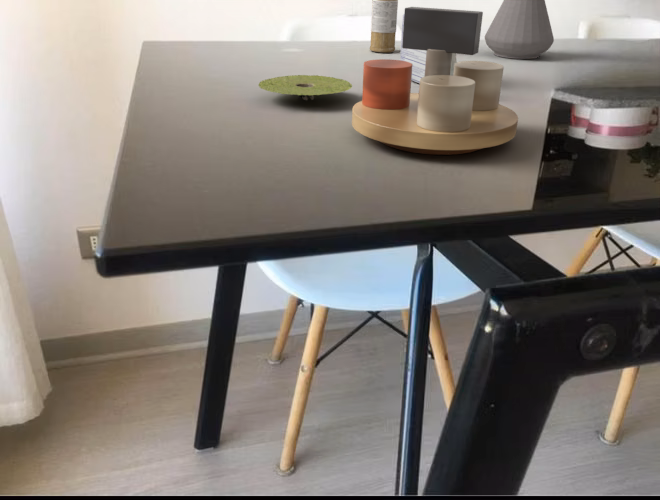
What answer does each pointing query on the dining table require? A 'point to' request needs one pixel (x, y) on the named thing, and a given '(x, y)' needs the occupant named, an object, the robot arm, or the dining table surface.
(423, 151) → the holder base
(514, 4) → the grey faceted vase
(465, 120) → the wooden lazy susan
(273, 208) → the dining table surface
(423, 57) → the medicine box
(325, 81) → the green flat disc
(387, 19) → the sprinkles bottle
